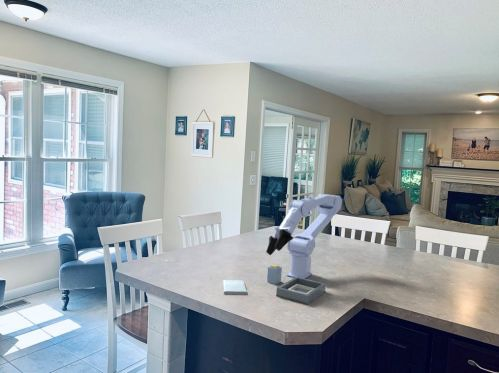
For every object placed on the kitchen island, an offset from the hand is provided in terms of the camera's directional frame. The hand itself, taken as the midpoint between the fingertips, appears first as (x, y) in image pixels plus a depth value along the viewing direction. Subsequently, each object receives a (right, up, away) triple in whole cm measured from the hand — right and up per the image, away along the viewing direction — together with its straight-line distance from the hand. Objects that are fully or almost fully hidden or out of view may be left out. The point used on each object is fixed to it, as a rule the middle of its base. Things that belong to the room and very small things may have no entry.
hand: (272, 251), depth 146 cm
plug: (+1, -13, +6) cm, 15 cm away
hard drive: (-14, -14, -3) cm, 20 cm away
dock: (+10, -14, -5) cm, 18 cm away
